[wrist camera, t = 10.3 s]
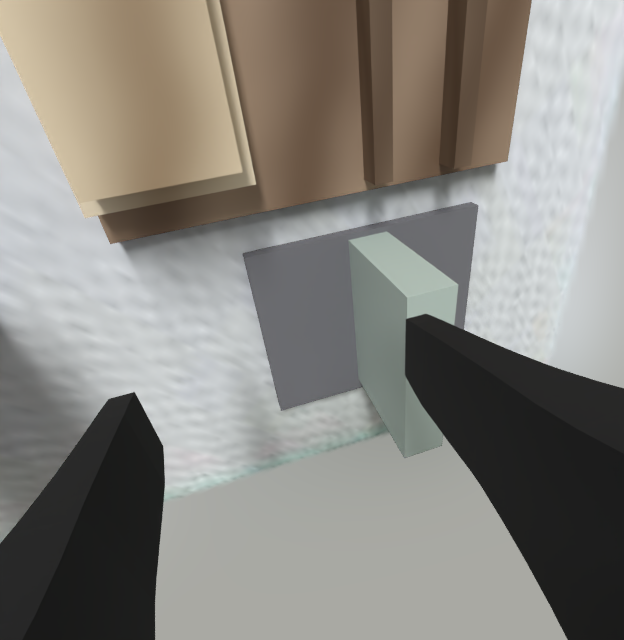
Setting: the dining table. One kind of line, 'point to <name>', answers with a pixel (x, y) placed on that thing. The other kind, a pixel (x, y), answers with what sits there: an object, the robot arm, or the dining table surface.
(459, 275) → the charcoal mat
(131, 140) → the upper pine offcut
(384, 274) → the sage panel
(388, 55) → the walnut rack
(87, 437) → the robot arm
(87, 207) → the lower pine offcut
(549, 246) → the dining table surface
